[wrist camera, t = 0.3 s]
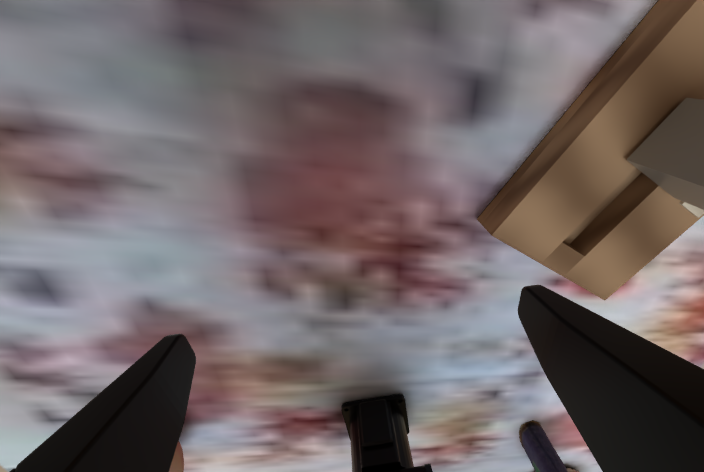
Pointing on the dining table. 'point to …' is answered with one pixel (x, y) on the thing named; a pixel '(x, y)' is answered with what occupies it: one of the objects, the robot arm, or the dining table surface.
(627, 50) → the wooden slotted board
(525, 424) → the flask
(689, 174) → the switch handle
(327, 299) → the dining table surface
